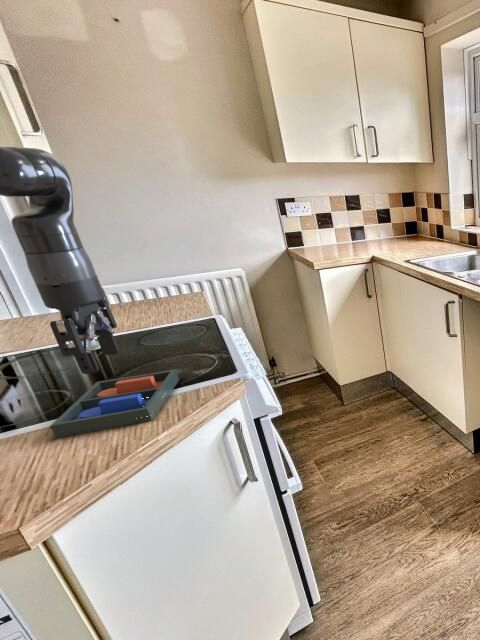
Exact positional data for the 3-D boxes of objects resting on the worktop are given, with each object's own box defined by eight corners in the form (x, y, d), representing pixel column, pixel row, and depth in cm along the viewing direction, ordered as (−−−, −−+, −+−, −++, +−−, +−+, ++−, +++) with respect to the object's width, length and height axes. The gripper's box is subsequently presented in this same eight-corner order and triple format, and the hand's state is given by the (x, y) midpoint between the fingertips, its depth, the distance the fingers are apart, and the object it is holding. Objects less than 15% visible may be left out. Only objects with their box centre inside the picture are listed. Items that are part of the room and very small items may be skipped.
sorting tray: (55, 438, 75) (49, 426, 74) (101, 392, 90) (96, 381, 89) (152, 420, 80) (147, 408, 79) (179, 379, 95) (175, 369, 94)
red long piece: (95, 402, 85) (89, 389, 84) (103, 393, 88) (98, 382, 87) (153, 392, 88) (148, 380, 87) (159, 384, 91) (154, 373, 90)
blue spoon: (76, 423, 78) (70, 410, 77) (86, 413, 81) (80, 401, 80) (140, 412, 81) (135, 399, 80) (147, 403, 84) (142, 390, 83)
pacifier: (77, 348, 113) (72, 355, 109) (67, 326, 111) (62, 332, 106) (113, 342, 117) (110, 348, 113) (104, 320, 115) (101, 326, 110)
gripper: (59, 269, 76) (94, 351, 82) (9, 289, 64) (54, 383, 70) (111, 266, 79) (141, 345, 85) (73, 284, 67) (111, 375, 73)
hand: (102, 362), depth 78 cm, fingers open, 8 cm apart
